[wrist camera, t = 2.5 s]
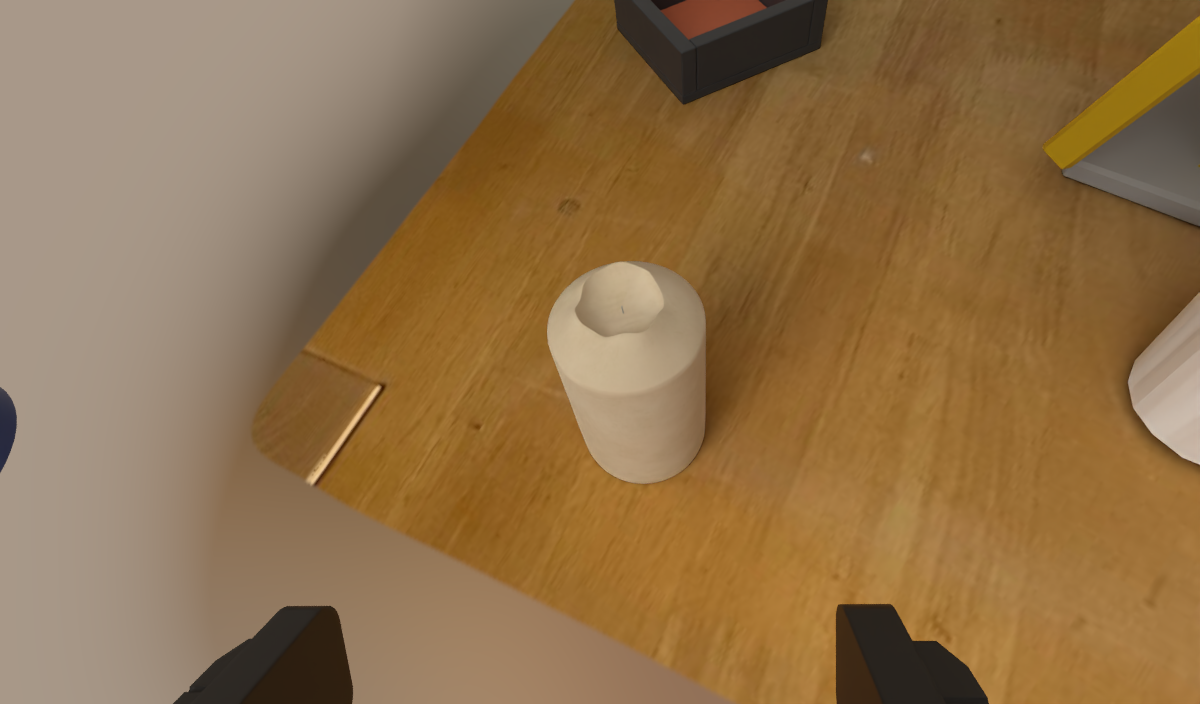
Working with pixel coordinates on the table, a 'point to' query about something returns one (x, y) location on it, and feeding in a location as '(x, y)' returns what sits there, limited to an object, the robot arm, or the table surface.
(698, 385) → the candle
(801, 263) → the table surface
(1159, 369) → the cup
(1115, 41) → the table surface
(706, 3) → the tray
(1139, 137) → the toy computer monitor
